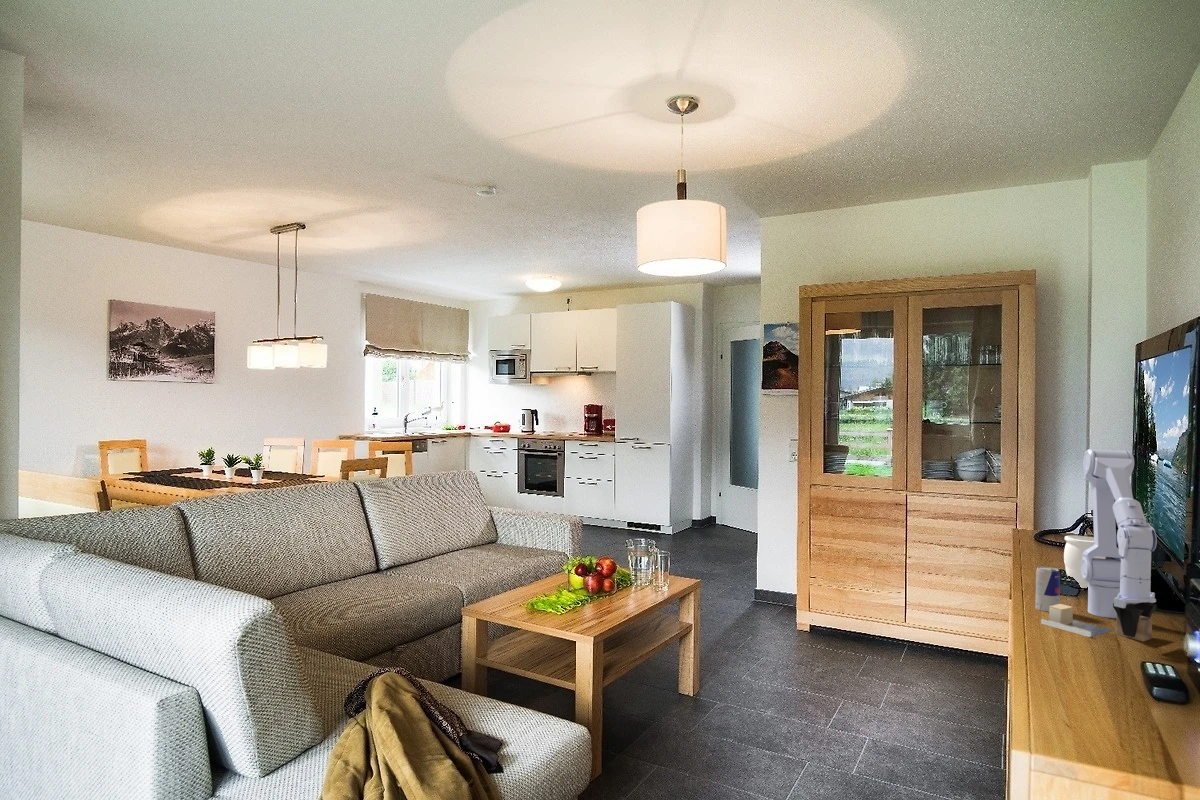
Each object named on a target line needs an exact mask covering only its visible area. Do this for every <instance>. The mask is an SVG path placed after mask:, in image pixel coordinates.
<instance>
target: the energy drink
mask: <svg viewBox="0 0 1200 800" xmlns="http://www.w3.org/2000/svg"><path fill="white" fill-rule="evenodd" d="M1060 581H1061V572H1060V569H1059V568H1055V567H1051V566H1037V568H1036V571H1035V607H1034V608H1035V609H1036V610H1038V611H1041V612H1045V613H1049V606H1053V605H1057V604H1060V592H1061V591H1060V586H1061V585H1060V584H1061V582H1060Z"/></svg>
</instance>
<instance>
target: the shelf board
mask: <svg viewBox="0 0 1200 800" xmlns="http://www.w3.org/2000/svg"><path fill="white" fill-rule="evenodd" d="M1040 624H1041V625H1044V626H1048V627H1051V628H1055V629H1059V630H1062V631H1065V632H1069V633H1073V634H1076V635H1080V636H1083V637H1087V638H1092V637H1096V636H1099V635H1102V634H1106V633H1111V632H1114V629H1109V628H1105V627H1102V626H1098V625H1094V624H1090V623H1086V622H1082V621H1080V620H1075V619H1073V623H1070V624H1066V625H1065V624H1062V623H1058V622H1054V621H1051V620H1049V619H1046V618H1041V619H1040Z"/></svg>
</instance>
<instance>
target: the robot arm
mask: <svg viewBox="0 0 1200 800" xmlns="http://www.w3.org/2000/svg"><path fill="white" fill-rule="evenodd" d="M1082 462H1083V464H1082V465H1083V476H1084V480H1085V481H1087V482H1089V483H1090V485H1091V486H1090V487H1091V493H1092V495H1091V496H1092V516H1093V517H1092V518H1093V519H1092V520H1093V522H1092V523H1093V537H1094V545H1093V546H1092V547H1090V548H1088V549H1087V550H1085V551H1084V552H1083V554H1082V562H1081V574H1082V577H1083V578H1084V579H1085V581H1087V582H1088V590H1087V612H1088V613H1089V614H1090V615H1094V616H1097V617H1102V618H1108V619H1117V615H1118V617H1119V620H1120V623H1121V627H1122V631H1123V634H1124V635H1127V636H1131V637H1135V634H1136V630H1137V624H1138V620H1139V617H1140V616H1144V617H1148V618H1152V615H1153V613H1154V612H1155V611H1156V610H1157V604H1155V603H1156V602H1157V599H1156V598H1155V597H1156V596H1155V595H1156V593H1155V592H1152V591H1151V583H1152V582H1151V580H1152V579H1151V576H1152V573H1151V572H1152V571H1151V570H1152V552H1155V550H1156V548H1157V542H1158V539H1157V534H1156V530H1155V528H1154V527H1153V526H1152V525H1151V523H1149V522H1147V520H1146V516H1145V514H1144V511H1143V508H1142V504H1141V503H1140V501H1138V500H1136V499H1134V496H1133V490H1132V486H1131V485H1132V484H1131V482H1130V481H1131V480H1130V477H1131V476H1132V473H1133V471H1134V467H1135V458H1134V454H1133V453H1132V452H1131V451H1130V450H1128V449H1126V450H1116V449H1115V450H1114V449H1113V450H1112V449H1110V450H1109V449H1093V448H1088V449H1087V450H1086V451H1085V452H1084V456H1083V460H1082ZM1116 527H1117V528H1118V529H1116ZM1117 545H1118V547H1117ZM1095 556H1101V557H1106V559H1100V558H1093V557H1095ZM1110 558H1111V559H1110Z"/></svg>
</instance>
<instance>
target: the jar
mask: <svg viewBox="0 0 1200 800" xmlns="http://www.w3.org/2000/svg"><path fill="white" fill-rule="evenodd" d="M1064 541H1065V542H1066V543H1065V546H1064V549H1063V550H1064V551H1063V561H1064V566H1065V568H1064V569H1065V572H1066V576H1067V577H1068V576H1070V577H1073V578H1074V579H1075V580H1076V581H1077V582H1078V583H1079V585H1080V587H1081V588H1087V587H1088V582H1087V581H1085V579H1084V578H1083V577H1082V574H1081V562H1082V554H1083V552H1084V551H1085V550H1087V549H1088V548H1090V547H1092V546H1093V545H1094V536H1086V535H1065V536H1064ZM1093 558H1100V559H1107V557H1101V556H1095V557H1093Z"/></svg>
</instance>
